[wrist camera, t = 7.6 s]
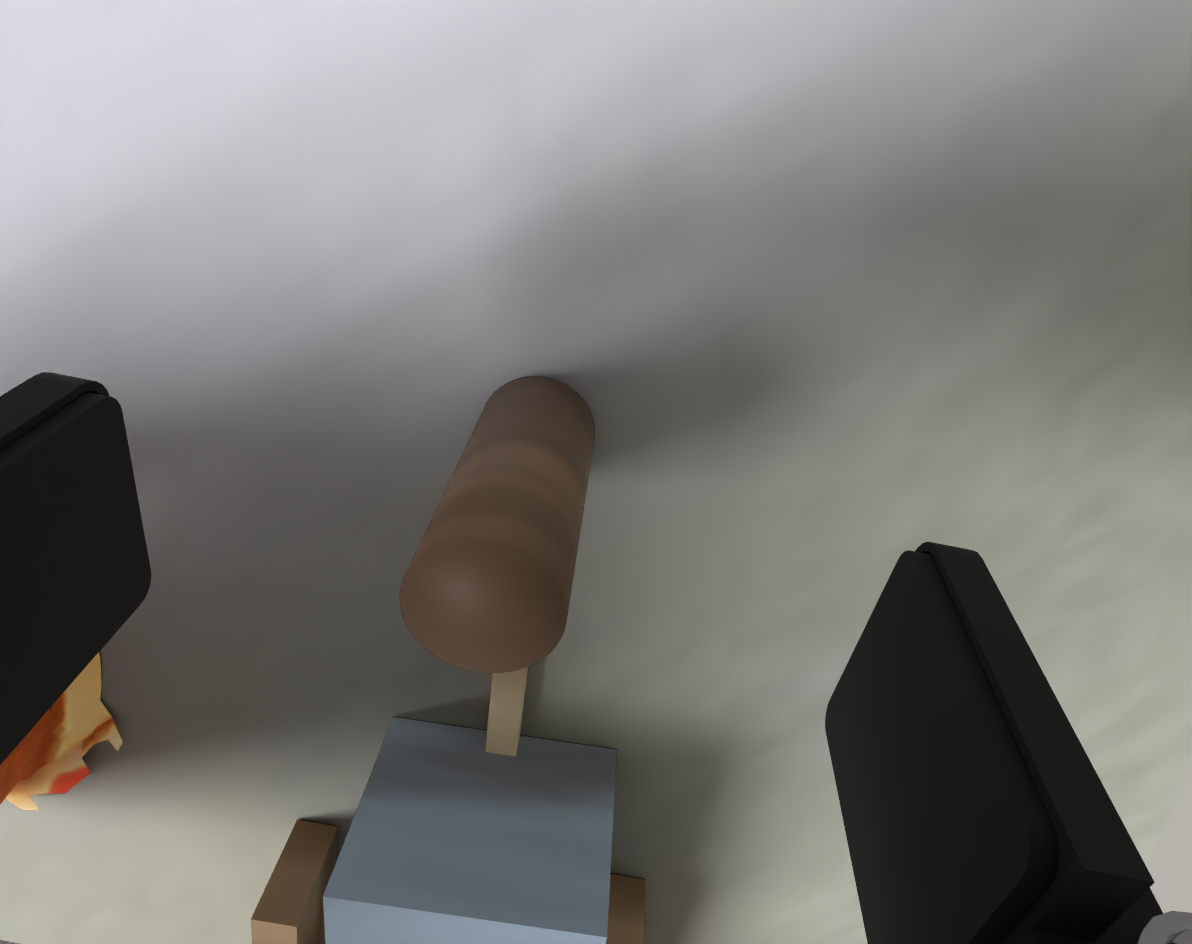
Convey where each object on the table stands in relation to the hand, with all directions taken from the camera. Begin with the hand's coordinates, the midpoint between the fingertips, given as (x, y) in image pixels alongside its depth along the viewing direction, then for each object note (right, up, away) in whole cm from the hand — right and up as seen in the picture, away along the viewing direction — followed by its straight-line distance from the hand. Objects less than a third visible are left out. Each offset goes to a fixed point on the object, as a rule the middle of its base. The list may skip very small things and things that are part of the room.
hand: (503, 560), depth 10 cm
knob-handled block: (-1, -4, +10) cm, 11 cm away
